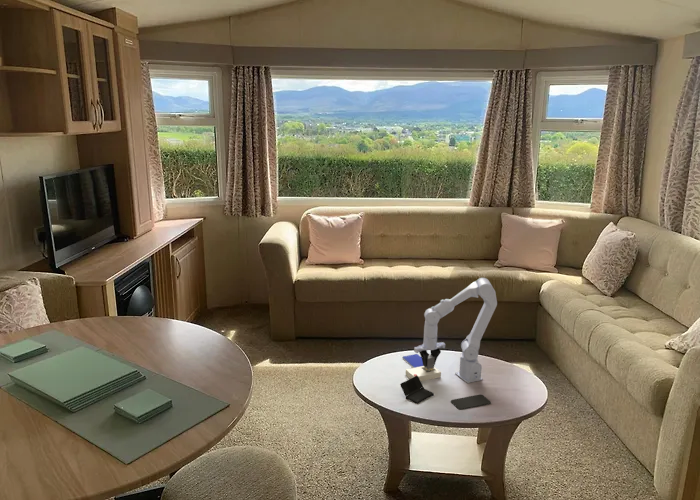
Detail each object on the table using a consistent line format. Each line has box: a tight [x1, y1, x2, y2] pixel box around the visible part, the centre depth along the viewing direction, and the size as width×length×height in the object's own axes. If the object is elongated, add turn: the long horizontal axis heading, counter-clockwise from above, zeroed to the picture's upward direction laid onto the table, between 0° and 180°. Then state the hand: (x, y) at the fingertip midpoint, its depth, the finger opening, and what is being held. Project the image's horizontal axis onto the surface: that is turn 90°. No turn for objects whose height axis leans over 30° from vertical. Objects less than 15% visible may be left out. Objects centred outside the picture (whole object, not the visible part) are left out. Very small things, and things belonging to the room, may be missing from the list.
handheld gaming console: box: [399, 376, 435, 405], centre depth 220 cm, size 12×7×10 cm
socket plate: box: [405, 366, 442, 383], centre depth 236 cm, size 8×13×3 cm, turn 114°
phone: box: [450, 393, 492, 411], centre depth 216 cm, size 7×1×15 cm
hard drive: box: [401, 353, 423, 368], centre depth 250 cm, size 2×8×12 cm
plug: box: [423, 353, 435, 370], centre depth 237 cm, size 3×3×6 cm
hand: (428, 365), depth 237 cm, fingers closed on plug, 3 cm apart
